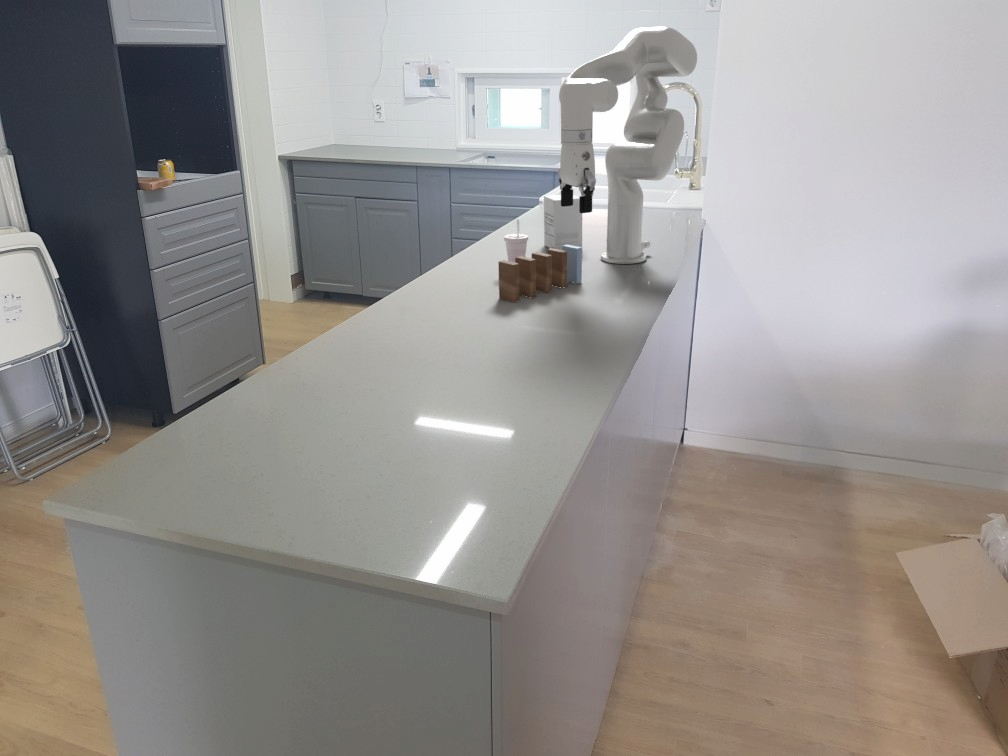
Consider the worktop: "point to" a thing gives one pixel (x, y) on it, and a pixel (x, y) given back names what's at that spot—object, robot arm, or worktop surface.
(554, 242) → the supplement box
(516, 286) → the tile
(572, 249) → the tile
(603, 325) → the worktop surface
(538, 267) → the tile
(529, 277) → the tile
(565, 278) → the tile
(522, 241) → the smoothie
